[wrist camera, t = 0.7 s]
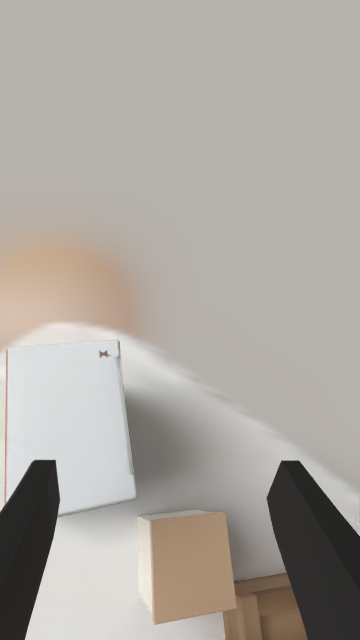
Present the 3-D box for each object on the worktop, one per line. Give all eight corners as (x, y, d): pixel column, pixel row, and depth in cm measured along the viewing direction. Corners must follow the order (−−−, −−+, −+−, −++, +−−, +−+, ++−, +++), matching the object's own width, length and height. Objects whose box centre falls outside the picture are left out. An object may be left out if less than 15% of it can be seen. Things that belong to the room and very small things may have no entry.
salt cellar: (203, 583, 23) (236, 608, 19) (137, 595, 22) (154, 624, 17) (196, 507, 25) (225, 512, 20) (135, 514, 24) (151, 520, 19)
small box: (28, 394, 25) (4, 341, 16) (104, 385, 27) (120, 334, 18) (29, 514, 22) (-1, 531, 13) (114, 495, 24) (139, 500, 15)
